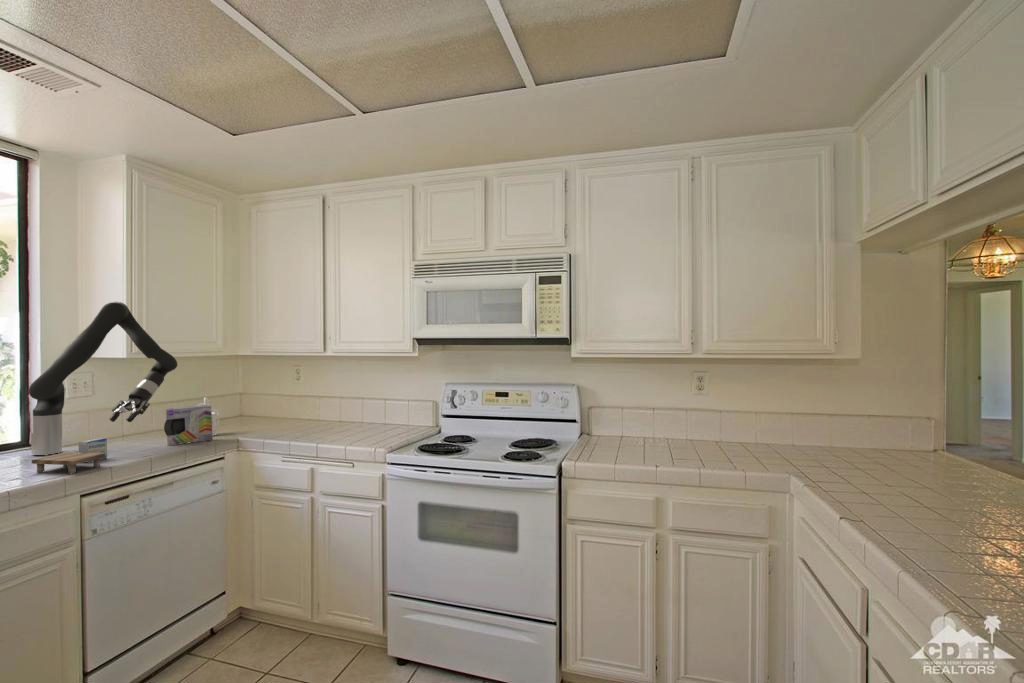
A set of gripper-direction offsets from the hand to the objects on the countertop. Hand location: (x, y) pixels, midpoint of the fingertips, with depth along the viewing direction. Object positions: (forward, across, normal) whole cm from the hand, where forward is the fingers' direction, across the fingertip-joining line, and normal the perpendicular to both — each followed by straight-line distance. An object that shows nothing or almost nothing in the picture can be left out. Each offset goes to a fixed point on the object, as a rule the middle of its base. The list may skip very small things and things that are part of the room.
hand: (119, 420), depth 205 cm
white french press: (-19, +6, +40) cm, 45 cm away
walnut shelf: (+28, +5, -7) cm, 29 cm away
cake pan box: (-7, +11, +28) cm, 31 cm away
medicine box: (+18, 0, +2) cm, 19 cm away
